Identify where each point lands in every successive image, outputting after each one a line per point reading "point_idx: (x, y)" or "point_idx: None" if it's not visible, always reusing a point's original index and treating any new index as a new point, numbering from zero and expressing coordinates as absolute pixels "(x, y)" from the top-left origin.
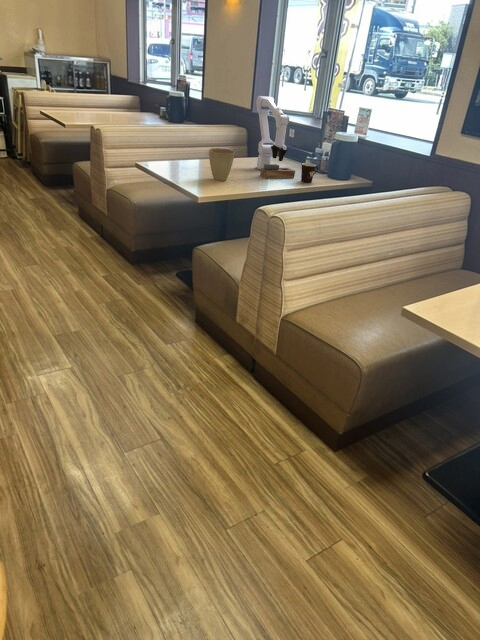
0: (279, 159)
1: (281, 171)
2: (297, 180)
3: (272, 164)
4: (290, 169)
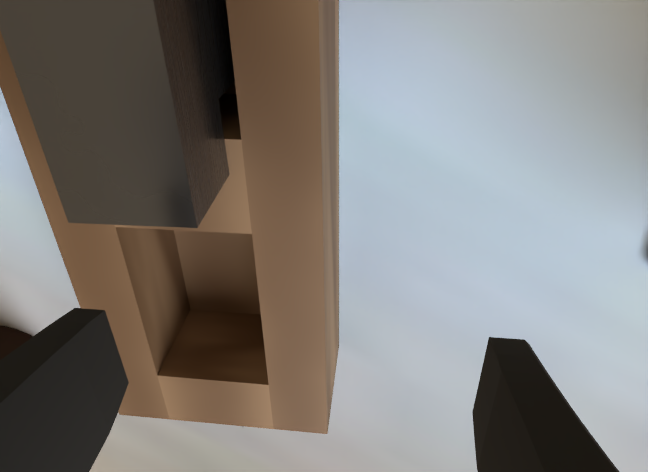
0: (32, 337)
1: (46, 178)
2: (34, 302)
3: (145, 70)
4: (190, 392)
